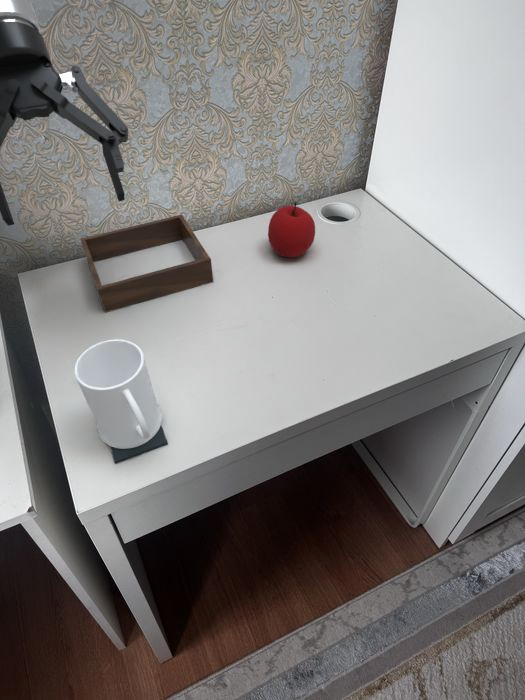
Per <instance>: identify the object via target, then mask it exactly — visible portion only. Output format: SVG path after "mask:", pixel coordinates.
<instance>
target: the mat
mask: <svg viewBox="0 0 525 700" xmlns="http://www.w3.org/2000/svg"><path fill="white" fill-rule="evenodd" d="M168 442H169V441H168V439H167V437H166V434H165V431H164V429H163V426H162V425H161V426H160V428H159V430H158V432H157V433H156V434H155V436H154V437H153V438H151V439H150V440H149V441H148V442H146V443H144V444H142V445H140V446H138V447H134V448H130V449H119V448H114V447H112V446H109V447H110V451H111V454H112V458H113V461H114V464H116V465H117V464H120V463H122V462H125V461H127V460H130V459H132V458H135V457H138V456H140V455H144V454H146V453H148V452H152V451H154V450H156V449H159V448H163V447H164V446H167V445H169V443H168Z"/></svg>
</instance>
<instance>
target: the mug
mask: <svg viewBox="0 0 525 700" xmlns="http://www.w3.org/2000/svg"><path fill="white" fill-rule="evenodd" d="M73 373H74V377H75V379H76V381H77V384H78V386H79V388H80V390H81V392H82V395H83V397H84V399H85V401H86V404H87V405H88V407H89V411H90V412H91V414H92V417H93V419H94V421H95V424H96V426H97V431H98V435H99V437H100V439H101V440H102V442H104V443H105V444H106V445H108V446H109V447H110V446H112V447H114V448H119V449H130V448H134V447H138V446H140V445H142V444H144V443H146V442H148V441H149V440H150V439H151V438H153V437H154V436H155V434H156V433H157V432H158V430H159V428H160V426H162V422H163V413H162V410H161V408H160V406H159V404H158V401H157V399H156V394H155V391H154V387H153V384H152V381H151V377H150V374H149V369H148V366H147V362H146V359H145V355H144V353H143V351H142V349H141V348H140V346H138V345H137V344H135V343H134V342H132V341H130V340H125V339H108V340H103V341H100V342H98V343H95V344H92V345H91V346H90V347H88V348H87V349H86V350H84V351H83V352H81V354H80V355H79V357H78V358H77V360H76V362H75V364H74V372H73Z"/></svg>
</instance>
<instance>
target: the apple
mask: <svg viewBox="0 0 525 700" xmlns="http://www.w3.org/2000/svg"><path fill="white" fill-rule="evenodd" d="M315 236H316V224H315V220H314V218H313V217H312V215H311V214H310V213H309V212H308V211H306V210H305V209H304V208H301V207H300V206H297V202H296V201H294V205H287V206H286V205H285V206H283V207H280V208H278V209H277V210H276V211H275V212H274V213H273V214H272V216H271V218H270V219H269V224H268V231H267V238H268V242H269V244H270V246H271V248H272V249H273V250H274V251H275V253H277V254H278V255H279V256H281V257H284V258H298V257H300V256H302V255H304V254H305V253H306V252H307V251H308V250H309V249H310V248H311V247H312V245H313V243H314V241H315Z"/></svg>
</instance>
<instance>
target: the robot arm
mask: <svg viewBox="0 0 525 700" xmlns="http://www.w3.org/2000/svg"><path fill="white" fill-rule="evenodd" d="M64 87H67V88H68V89H69V90H70V91H71V92H72V93H75V94H76V93H77V94H78V96H79V97H80V98H81V100H82V101H83V103H84V104H86V106H87V107H89V109H90V110H91V111H92V112H93V114H94V115H96V116H97V118H98V119H99V120H100V121H101V122H102V123H103V124H101V123H100V122H98V121H97V120H96V119H94V118H93V117H91V116H90V115H89V114H87V113H86V112H84V111H83V110H82V109H80V108H79V107H77V106H76V105H75V104H74V103H72V102H70V101H69V99H68V98H67V97H66V96H65V95H63V94H62V92H63V88H64ZM53 113H55V114H56V115H58V116H59V118H62V119H64V120H67V121H68V122H69V123H71V124H73V125H74V126H75V127H77V128H78V129H79V130H81V131H82V132H84V133H85V134H87V135H89V136H90V137H91V138H92V139H94V140H95V141H97V142H98V143H99V144H101V148H102V155H103V158H104V161H105V164H106V167H107V171H108V173H109V176H110V179H111V183H112V186H113V188H114V192H115V194H116V198H117V201H118V202H123V201H125V193H126V192H125V190H124V187H123V184H122V181H121V178H120V175H119V174H120V173H124V172H125V171H124V170H125V162H124V160H123V159H124V158H123V156H122V153H121V149H120V147H119V146H120V145H121V144H123V143H127V142H128V140H129V128H128V126H127V125H126V123H125V122H123V120H122V119H121V117H119V116H118V115H117V114H116V113H115V111H113V109H112V108H111V107H110V106H109V105H108V103H106V102H105V100H104V99H103V98H102V97H101V96H100V95H99V94H98V92H96V90H95V89H94V88H93V87H92V86H91V84H89V83H88V82H87V80H86V76H85V75H84V73H83V71H82V68H81V67H80V66H78V65H73V66H71V68H70V71H67V72H64V73H58V72H57V70H55V69H54V66H53V63H52V60H51V57H50V53H49V50H48V48H47V45H46V42H45V38H44V37H43V35H42V30H41V27H40V23H39V20H38V17H37V14H36V12H35V8H34V4H33V2H32V0H0V148H1V147H2V145H3V143H4V142H5V140H6V138H7V135H8V133H9V131H10V129H12V128H13V127H14V125H15V124H16V121H17V119H21V120H23V121H30V120H32V119H35V118H49V117H50V115H51V114H53ZM104 125H105V126H104ZM0 215H1V218H2V220H3V222H4V223H5V224H6V225H7V226H9V227H10V226H13V225H15V221H14V218H13V215H12V213H11V209H10V207H9V204H8V201H7V198H6V195H5V192H4V189H3V186H2V183H1V182H0Z"/></svg>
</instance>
